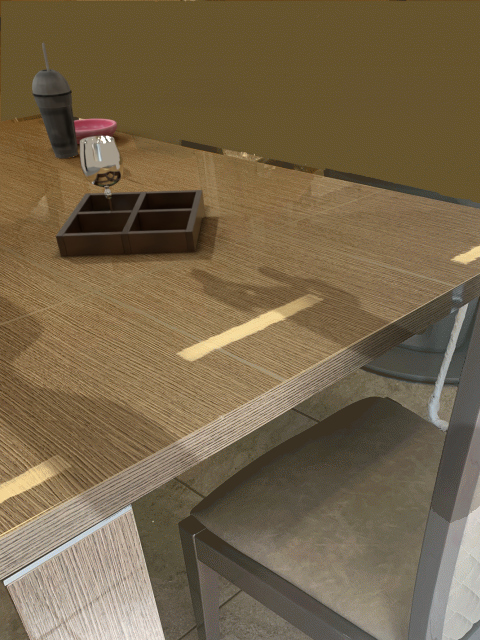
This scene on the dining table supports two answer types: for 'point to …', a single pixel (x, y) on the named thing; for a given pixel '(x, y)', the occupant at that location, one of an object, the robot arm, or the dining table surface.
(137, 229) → the tray
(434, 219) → the dining table surface
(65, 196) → the dining table surface
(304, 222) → the dining table surface
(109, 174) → the wineglass
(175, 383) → the dining table surface
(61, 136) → the beverage cup
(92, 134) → the pink round shallow bowl
